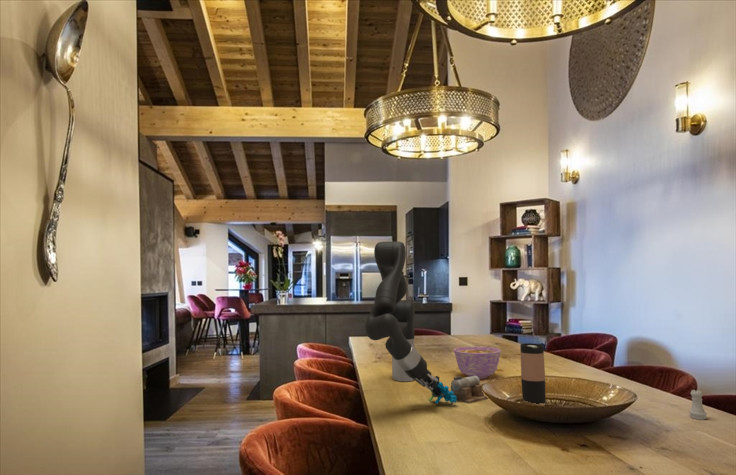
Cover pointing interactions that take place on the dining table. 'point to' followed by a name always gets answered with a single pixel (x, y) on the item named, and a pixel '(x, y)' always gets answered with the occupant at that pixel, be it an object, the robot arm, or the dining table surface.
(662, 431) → the dining table surface
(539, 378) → the travel mug
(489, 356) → the bowl of food
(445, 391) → the gear
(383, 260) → the robot arm
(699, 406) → the rook chess piece
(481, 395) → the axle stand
